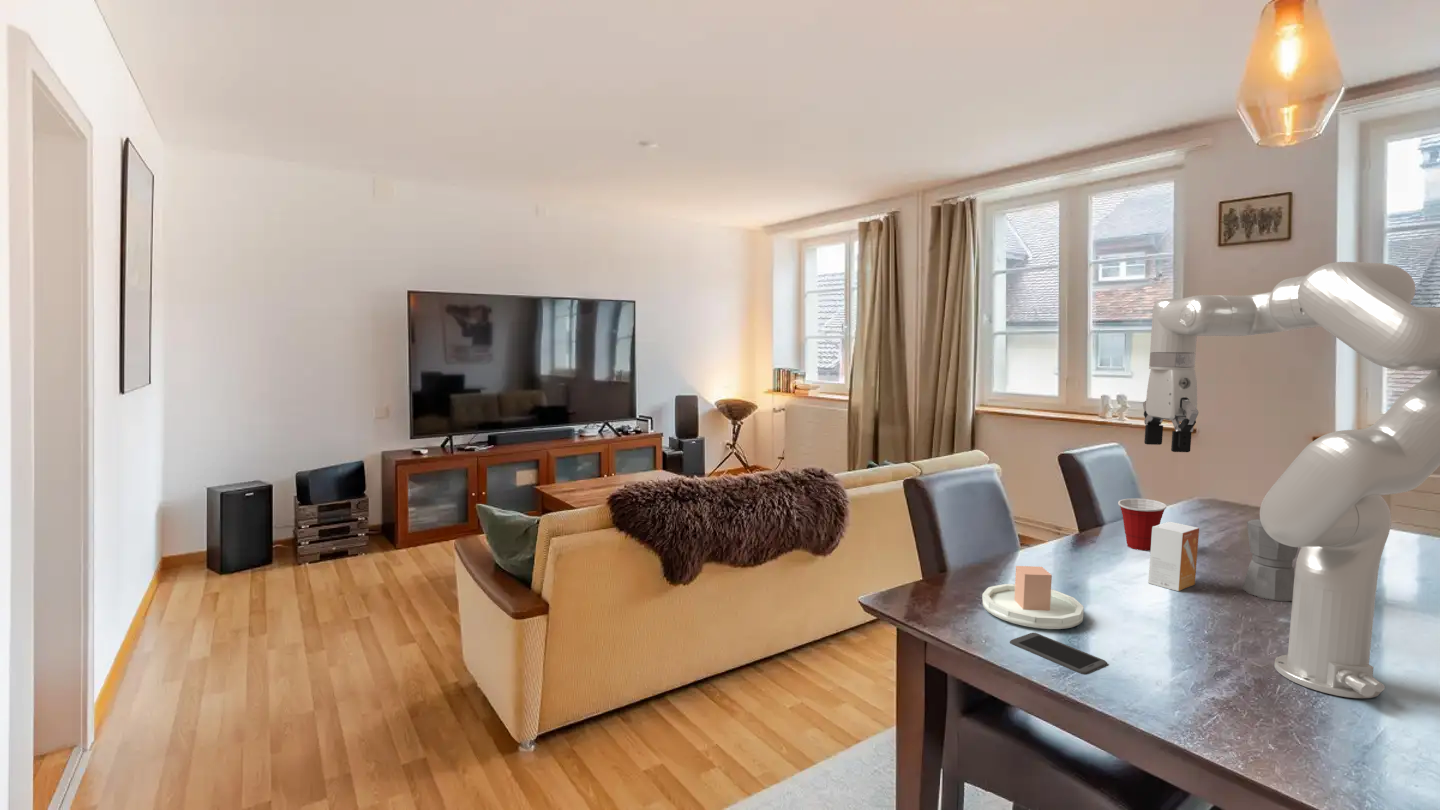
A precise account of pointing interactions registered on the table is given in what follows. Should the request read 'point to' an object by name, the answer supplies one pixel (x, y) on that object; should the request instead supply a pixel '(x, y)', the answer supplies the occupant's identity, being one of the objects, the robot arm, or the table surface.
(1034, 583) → the block
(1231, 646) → the table surface
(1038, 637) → the cell phone
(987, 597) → the dish
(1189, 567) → the small box
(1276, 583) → the coffeepot
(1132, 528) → the plastic cup
